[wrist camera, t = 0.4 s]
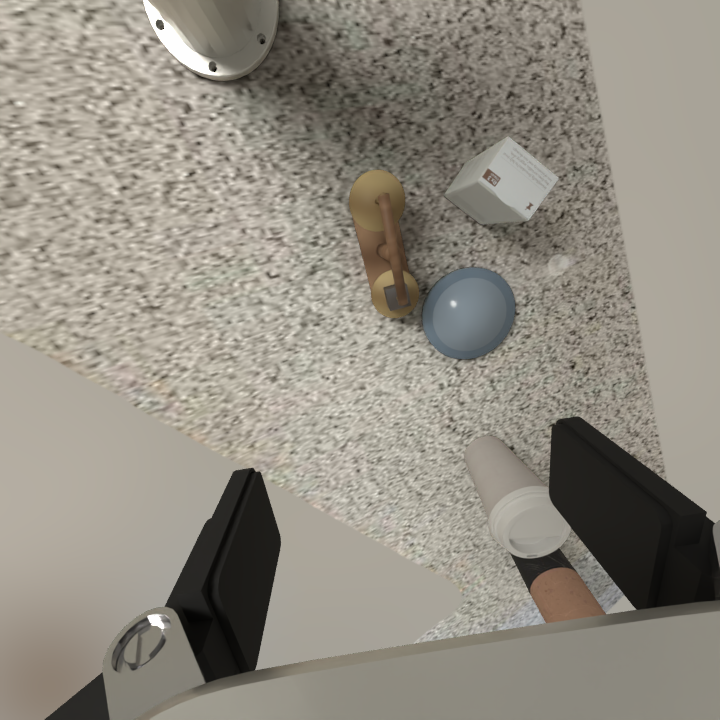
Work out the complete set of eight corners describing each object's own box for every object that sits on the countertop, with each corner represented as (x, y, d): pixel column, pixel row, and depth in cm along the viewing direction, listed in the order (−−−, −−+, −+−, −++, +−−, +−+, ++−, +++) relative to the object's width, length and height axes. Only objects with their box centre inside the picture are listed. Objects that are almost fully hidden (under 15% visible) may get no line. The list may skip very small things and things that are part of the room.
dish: (403, 325, 45) (405, 327, 44) (462, 247, 42) (465, 247, 41) (470, 372, 48) (473, 375, 47) (530, 302, 45) (534, 303, 44)
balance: (342, 187, 39) (342, 167, 27) (389, 174, 39) (409, 147, 27) (375, 316, 44) (386, 344, 33) (416, 305, 44) (443, 329, 33)
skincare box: (502, 193, 40) (566, 175, 29) (479, 227, 41) (531, 223, 30) (462, 160, 39) (512, 129, 27) (439, 197, 40) (477, 181, 29)
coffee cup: (444, 469, 53) (480, 553, 39) (472, 419, 50) (522, 489, 36) (496, 485, 55) (550, 571, 41) (526, 437, 52) (595, 511, 38)
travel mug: (505, 523, 58) (584, 661, 39) (549, 518, 58) (649, 653, 39) (503, 556, 60) (575, 700, 42) (545, 551, 61) (637, 693, 42)
